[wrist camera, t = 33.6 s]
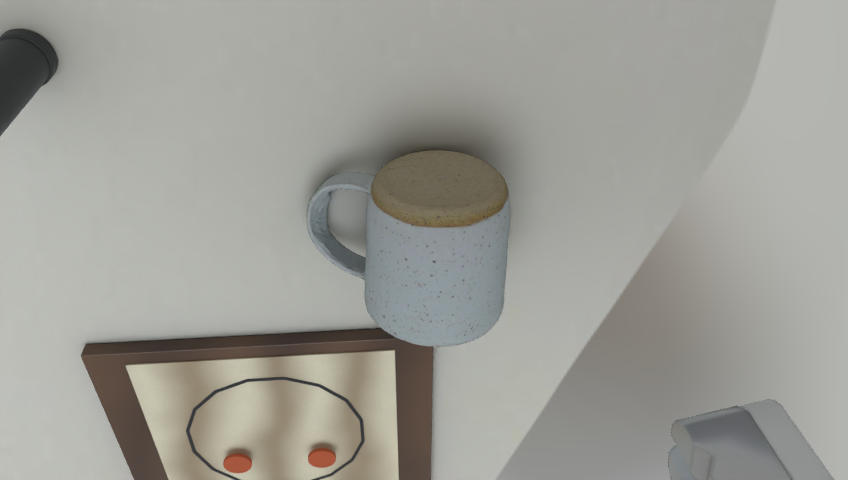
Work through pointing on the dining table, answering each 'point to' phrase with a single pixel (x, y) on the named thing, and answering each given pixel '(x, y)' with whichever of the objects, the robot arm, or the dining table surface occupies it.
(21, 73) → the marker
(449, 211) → the ceramic mug
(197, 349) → the brown framed board
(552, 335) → the dining table surface
